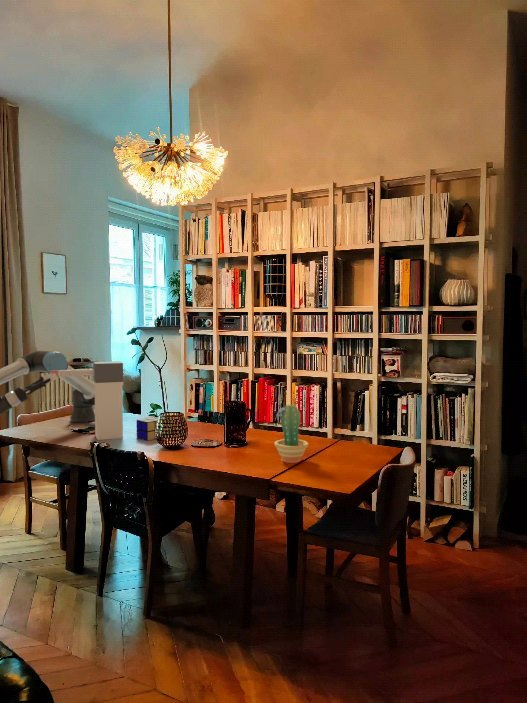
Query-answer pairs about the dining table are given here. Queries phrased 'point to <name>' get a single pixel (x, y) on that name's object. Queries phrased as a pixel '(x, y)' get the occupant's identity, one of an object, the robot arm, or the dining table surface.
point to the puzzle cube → (146, 428)
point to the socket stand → (108, 400)
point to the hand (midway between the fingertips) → (56, 374)
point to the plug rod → (74, 372)
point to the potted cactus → (290, 435)
